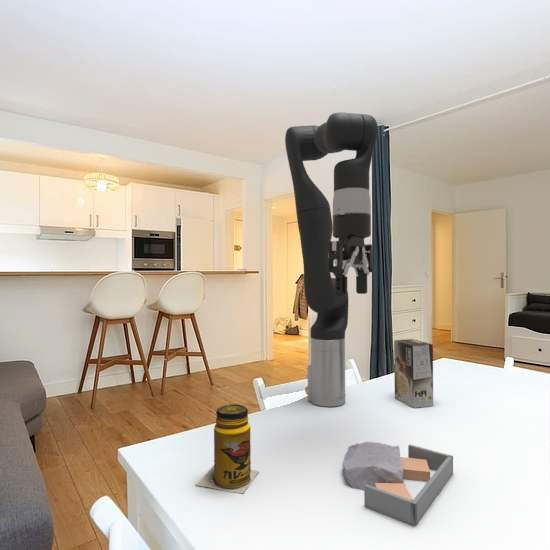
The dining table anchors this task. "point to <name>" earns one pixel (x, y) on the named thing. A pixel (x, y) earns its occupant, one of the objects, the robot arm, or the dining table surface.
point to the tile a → (395, 489)
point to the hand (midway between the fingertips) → (351, 294)
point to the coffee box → (413, 372)
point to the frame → (418, 506)
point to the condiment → (230, 451)
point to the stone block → (372, 464)
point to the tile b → (415, 469)
